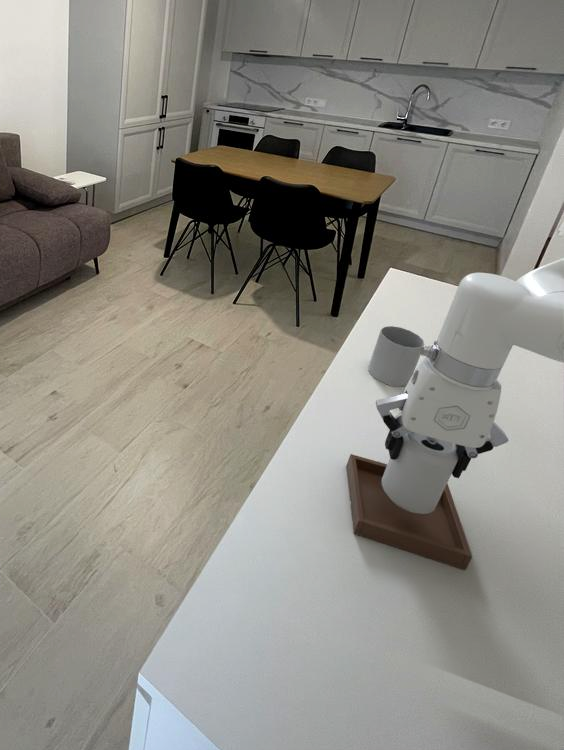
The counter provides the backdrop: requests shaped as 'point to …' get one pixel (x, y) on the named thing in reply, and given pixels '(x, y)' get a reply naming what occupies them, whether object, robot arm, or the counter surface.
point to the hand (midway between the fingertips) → (421, 461)
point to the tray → (404, 518)
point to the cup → (395, 356)
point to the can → (419, 472)
